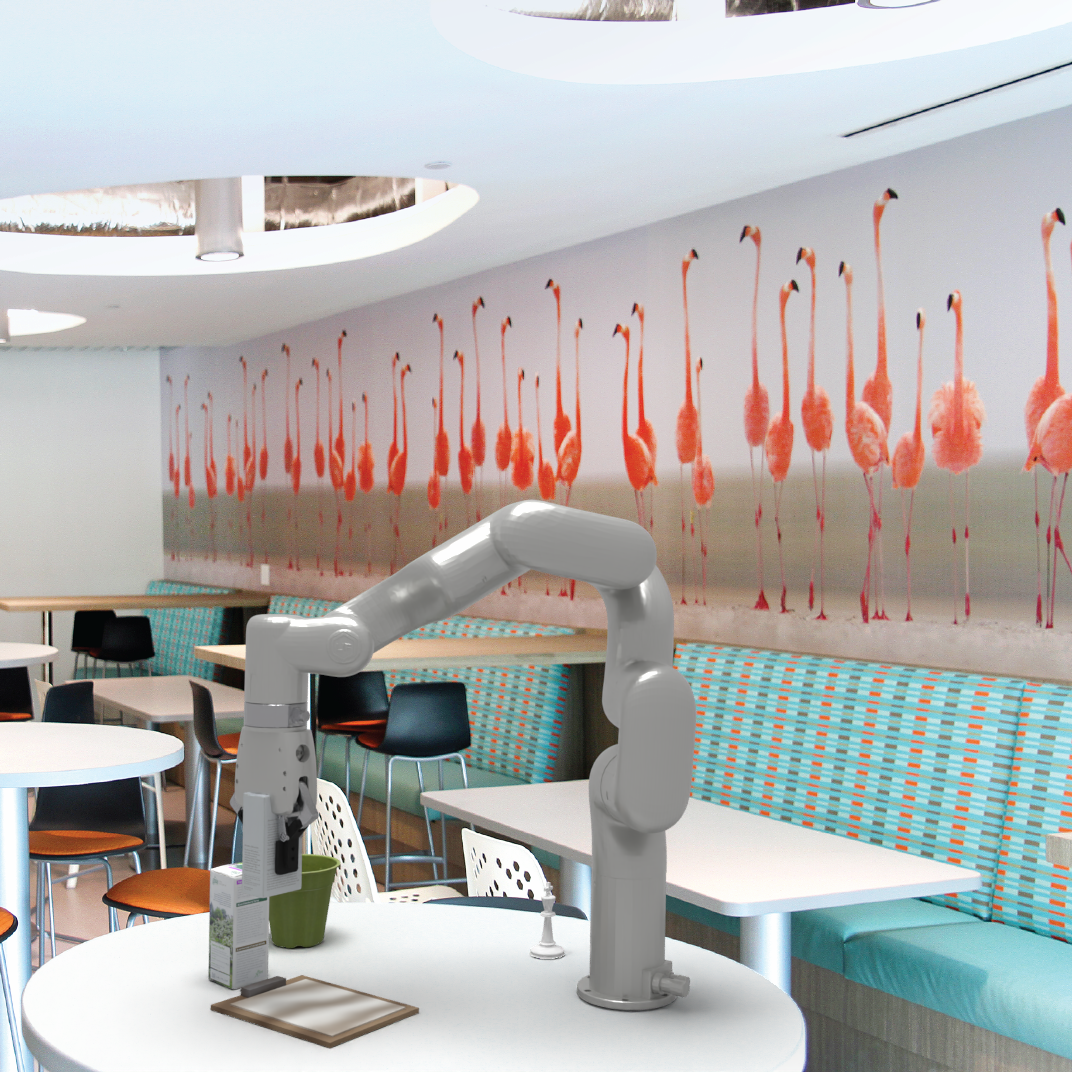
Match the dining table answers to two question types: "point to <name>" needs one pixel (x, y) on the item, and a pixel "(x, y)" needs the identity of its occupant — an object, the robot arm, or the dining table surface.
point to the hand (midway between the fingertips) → (271, 868)
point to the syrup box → (236, 930)
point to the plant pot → (304, 905)
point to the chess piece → (547, 930)
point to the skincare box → (264, 850)
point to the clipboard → (313, 1009)
